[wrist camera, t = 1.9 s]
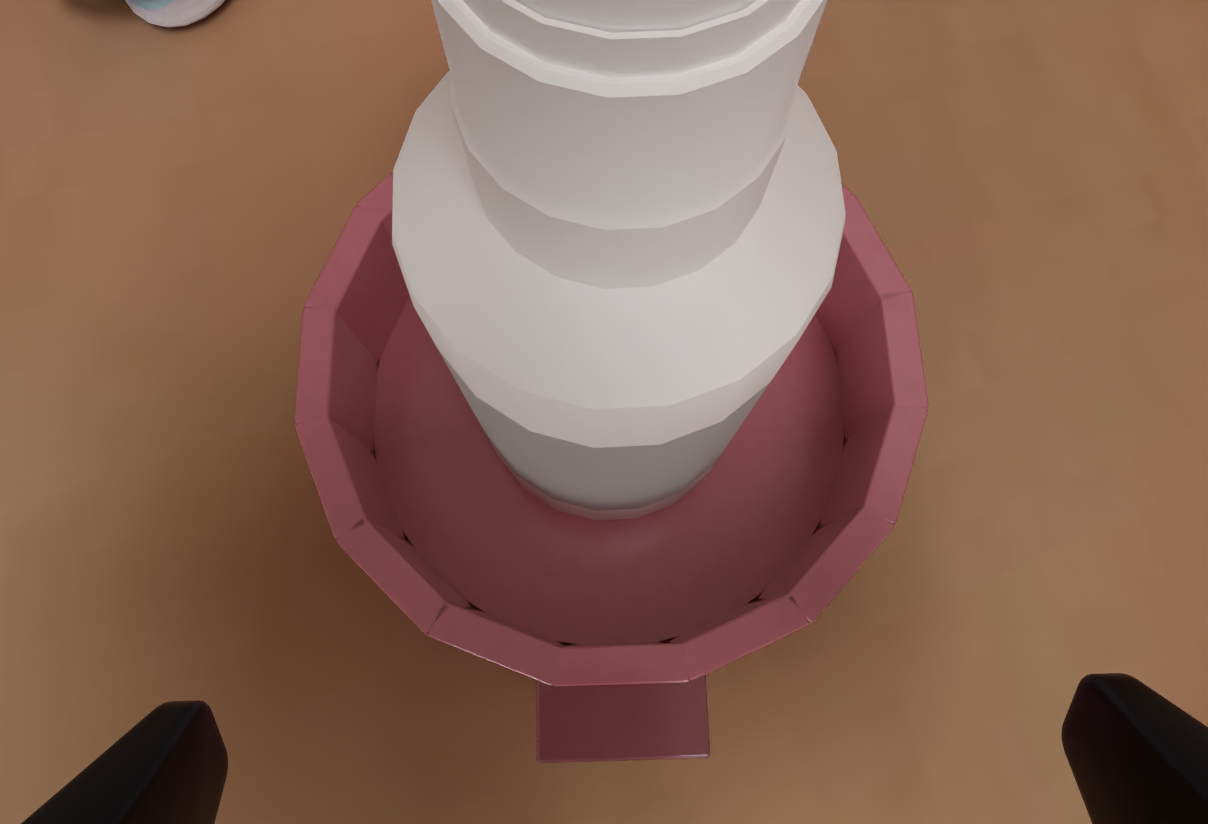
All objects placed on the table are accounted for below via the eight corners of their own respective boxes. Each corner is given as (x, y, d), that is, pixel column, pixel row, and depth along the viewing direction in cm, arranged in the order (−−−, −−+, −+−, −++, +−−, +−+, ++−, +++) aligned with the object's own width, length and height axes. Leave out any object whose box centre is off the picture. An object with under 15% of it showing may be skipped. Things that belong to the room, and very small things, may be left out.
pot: (906, 728, 20) (978, 750, 17) (329, 746, 20) (265, 773, 16) (834, 126, 25) (876, 34, 21) (364, 135, 25) (321, 44, 21)
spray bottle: (561, 570, 21) (397, 290, 4) (444, 358, 23) (-50, -522, 5) (778, 444, 22) (1419, -232, 5) (651, 249, 24) (793, -797, 6)
